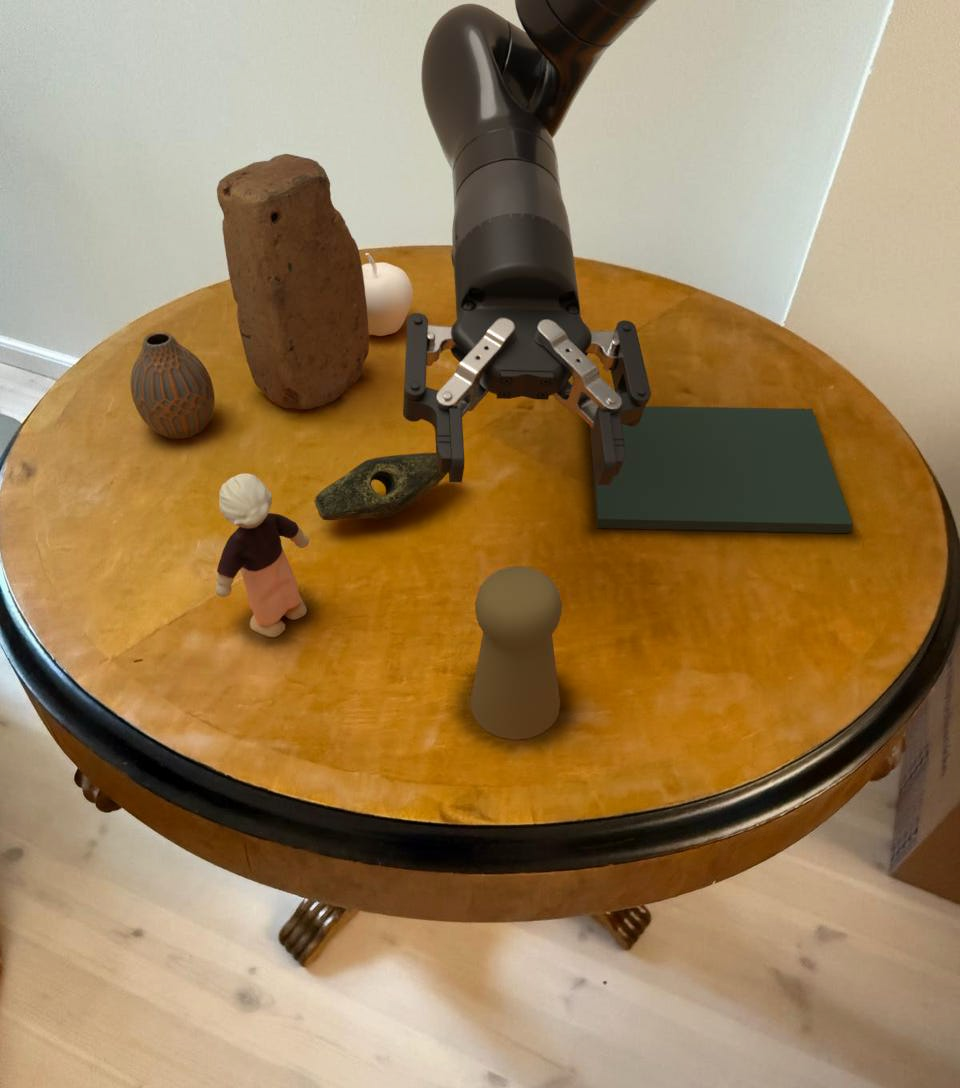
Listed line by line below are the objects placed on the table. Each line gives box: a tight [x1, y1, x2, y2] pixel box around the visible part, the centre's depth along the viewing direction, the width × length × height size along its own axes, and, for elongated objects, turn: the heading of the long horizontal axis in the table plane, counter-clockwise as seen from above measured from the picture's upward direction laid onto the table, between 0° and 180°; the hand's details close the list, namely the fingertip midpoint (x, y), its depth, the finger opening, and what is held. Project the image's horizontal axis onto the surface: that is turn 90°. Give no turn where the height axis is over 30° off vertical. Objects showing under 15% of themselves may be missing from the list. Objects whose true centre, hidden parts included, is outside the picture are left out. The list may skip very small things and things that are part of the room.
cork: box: [470, 565, 563, 741], centre depth 58 cm, size 6×6×11 cm
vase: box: [130, 331, 216, 440], centre depth 81 cm, size 7×7×9 cm
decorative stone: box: [314, 452, 448, 521], centre depth 74 cm, size 11×8×5 cm
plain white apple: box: [362, 252, 414, 337], centre depth 93 cm, size 7×7×8 cm
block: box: [216, 153, 370, 410], centre depth 81 cm, size 11×8×20 cm
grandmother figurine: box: [214, 473, 310, 638], centre depth 63 cm, size 8×4×13 cm, turn 150°
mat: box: [589, 405, 853, 534], centre depth 79 cm, size 20×16×1 cm
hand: (533, 476), depth 52 cm, fingers open, 8 cm apart
